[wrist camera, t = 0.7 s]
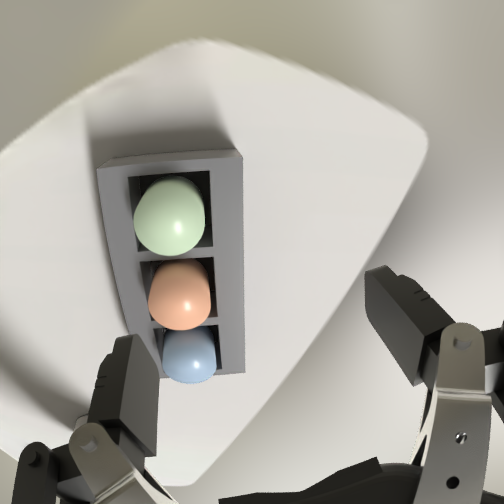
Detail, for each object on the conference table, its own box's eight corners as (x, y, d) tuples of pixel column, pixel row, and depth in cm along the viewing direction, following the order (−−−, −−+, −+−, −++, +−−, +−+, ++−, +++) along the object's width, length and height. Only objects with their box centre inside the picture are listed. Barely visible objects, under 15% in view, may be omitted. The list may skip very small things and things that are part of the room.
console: (240, 345, 33) (245, 372, 30) (147, 351, 32) (143, 378, 28) (236, 148, 24) (242, 157, 21) (111, 158, 23) (96, 169, 19)
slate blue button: (215, 355, 30) (218, 381, 27) (168, 358, 29) (167, 384, 26) (211, 318, 28) (214, 345, 25) (160, 321, 27) (157, 348, 24)
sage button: (205, 232, 24) (206, 253, 21) (146, 236, 24) (138, 258, 21) (202, 173, 22) (202, 185, 19) (139, 178, 22) (129, 191, 18)
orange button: (210, 302, 27) (212, 328, 24) (157, 305, 27) (153, 331, 23) (206, 253, 25) (208, 276, 22) (149, 257, 24) (143, 281, 21)
